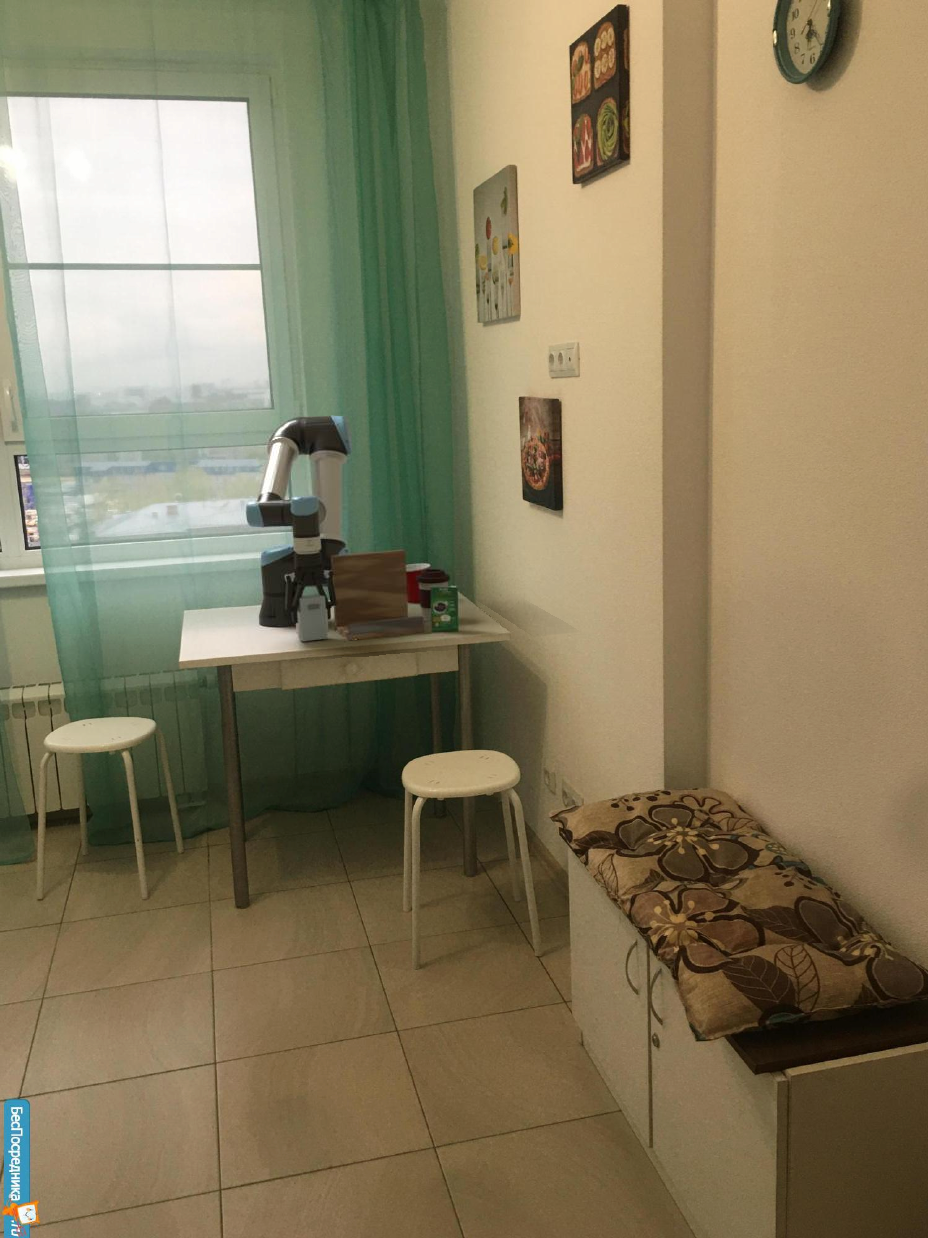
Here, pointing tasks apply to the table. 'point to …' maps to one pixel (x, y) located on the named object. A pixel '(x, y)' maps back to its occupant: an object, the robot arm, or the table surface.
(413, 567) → the plastic cup
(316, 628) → the small blue-gray block
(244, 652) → the table surface
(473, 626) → the table surface
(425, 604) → the coffee cup
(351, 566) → the brown wooden display stand
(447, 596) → the coffee box
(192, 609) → the table surface
